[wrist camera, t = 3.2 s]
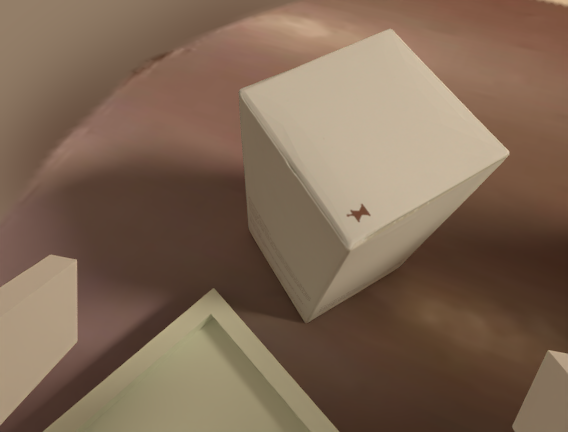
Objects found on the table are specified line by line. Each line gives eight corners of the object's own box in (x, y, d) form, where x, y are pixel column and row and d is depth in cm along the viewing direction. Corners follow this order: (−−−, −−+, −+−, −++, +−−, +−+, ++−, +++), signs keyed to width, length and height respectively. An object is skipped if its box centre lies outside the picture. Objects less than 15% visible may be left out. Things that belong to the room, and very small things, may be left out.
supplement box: (403, 267, 25) (522, 156, 14) (303, 327, 23) (345, 256, 12) (339, 178, 28) (394, 21, 16) (244, 225, 26) (231, 86, 14)
